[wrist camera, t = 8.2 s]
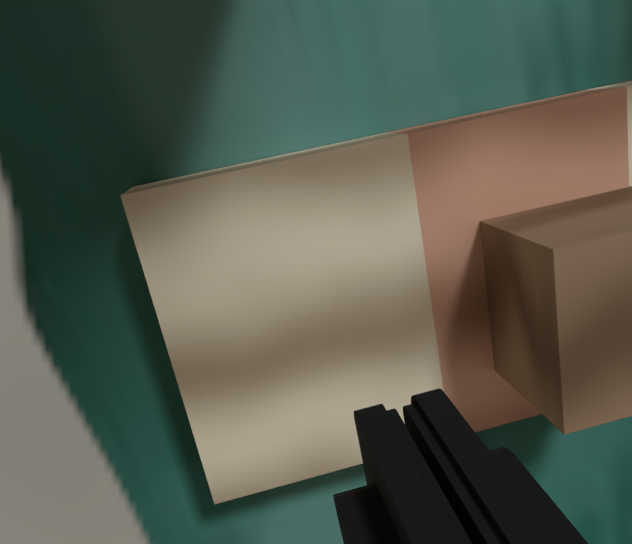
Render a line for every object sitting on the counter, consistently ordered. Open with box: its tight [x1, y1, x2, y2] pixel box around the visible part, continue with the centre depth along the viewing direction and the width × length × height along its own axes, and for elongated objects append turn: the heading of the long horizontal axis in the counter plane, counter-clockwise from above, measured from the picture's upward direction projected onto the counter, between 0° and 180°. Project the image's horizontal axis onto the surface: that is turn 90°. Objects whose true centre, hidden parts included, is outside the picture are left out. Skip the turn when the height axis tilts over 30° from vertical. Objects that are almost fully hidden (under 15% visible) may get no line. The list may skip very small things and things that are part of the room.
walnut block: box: [480, 186, 632, 434], centre depth 18 cm, size 6×6×4 cm
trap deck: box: [120, 80, 632, 504], centre depth 21 cm, size 12×27×2 cm, turn 102°
